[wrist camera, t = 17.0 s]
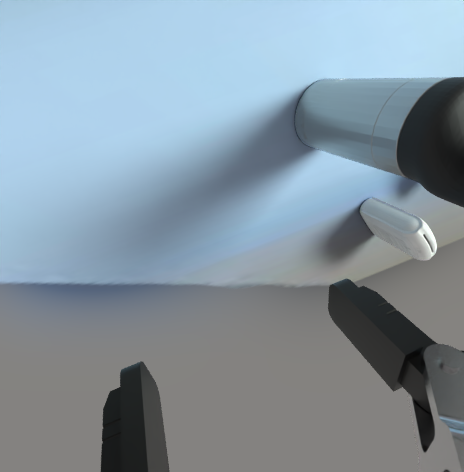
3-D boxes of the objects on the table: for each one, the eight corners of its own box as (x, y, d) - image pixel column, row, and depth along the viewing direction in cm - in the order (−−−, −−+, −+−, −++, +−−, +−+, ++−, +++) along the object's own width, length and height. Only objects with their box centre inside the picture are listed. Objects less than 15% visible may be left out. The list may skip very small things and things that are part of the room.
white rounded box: (388, 222, 58) (447, 252, 48) (373, 237, 58) (428, 269, 48) (371, 192, 52) (434, 219, 42) (355, 209, 52) (413, 240, 42)
